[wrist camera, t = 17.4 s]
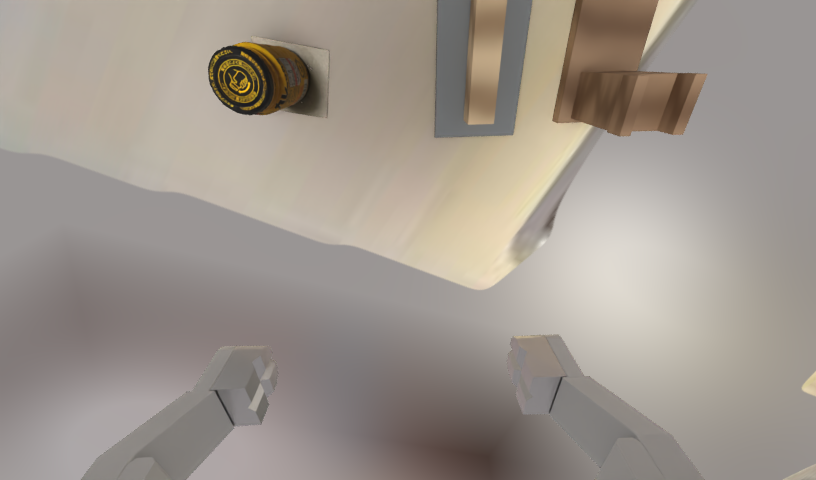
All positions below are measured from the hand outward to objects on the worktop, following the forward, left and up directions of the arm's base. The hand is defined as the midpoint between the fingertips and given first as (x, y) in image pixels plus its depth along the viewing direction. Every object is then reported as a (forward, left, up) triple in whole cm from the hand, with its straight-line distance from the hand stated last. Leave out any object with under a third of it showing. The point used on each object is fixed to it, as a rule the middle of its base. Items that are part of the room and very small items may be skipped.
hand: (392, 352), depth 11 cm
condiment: (-7, -12, -34) cm, 37 cm away
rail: (-12, +10, -32) cm, 36 cm away
